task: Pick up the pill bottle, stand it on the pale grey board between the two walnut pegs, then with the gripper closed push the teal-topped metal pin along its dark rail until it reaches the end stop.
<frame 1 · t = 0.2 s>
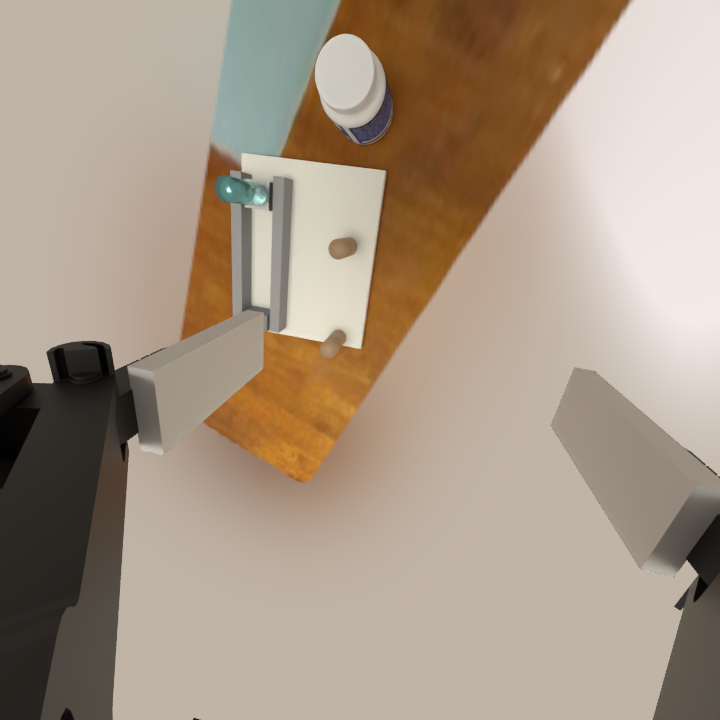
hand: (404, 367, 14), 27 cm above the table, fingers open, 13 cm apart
pin: (248, 193, 34), point 5 cm above the table, slide at 0.0 cm
pill bottle: (366, 114, 35), on the table
board: (308, 257, 41), on the table
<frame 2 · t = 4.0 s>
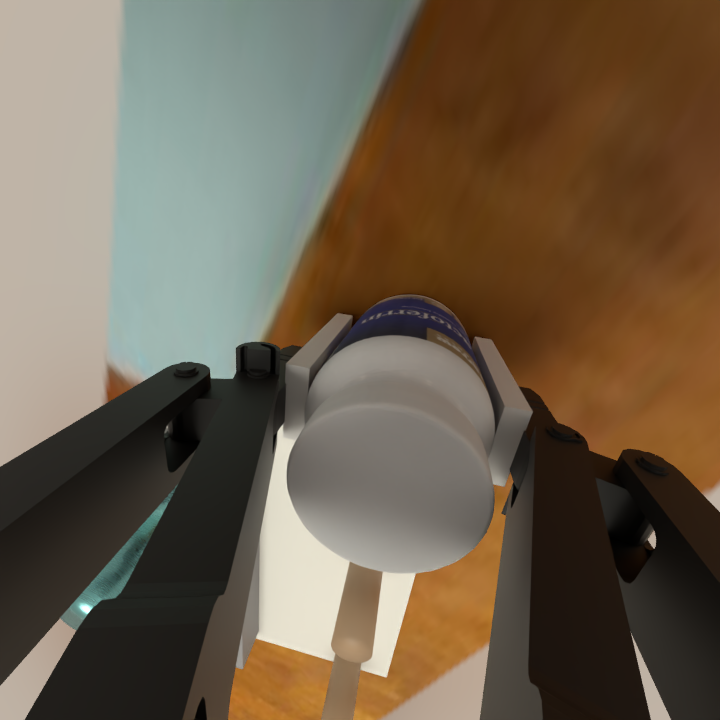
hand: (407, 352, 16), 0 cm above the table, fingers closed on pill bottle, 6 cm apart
pin: (162, 523, 16), point 5 cm above the table, slide at 0.0 cm
pill bottle: (407, 348, 17), on the table, touching gripper
board: (295, 540, 23), on the table
when the fingers open (3 cm above the table, at t = 9.6 s): pill bottle drops 2 cm, resting on board.
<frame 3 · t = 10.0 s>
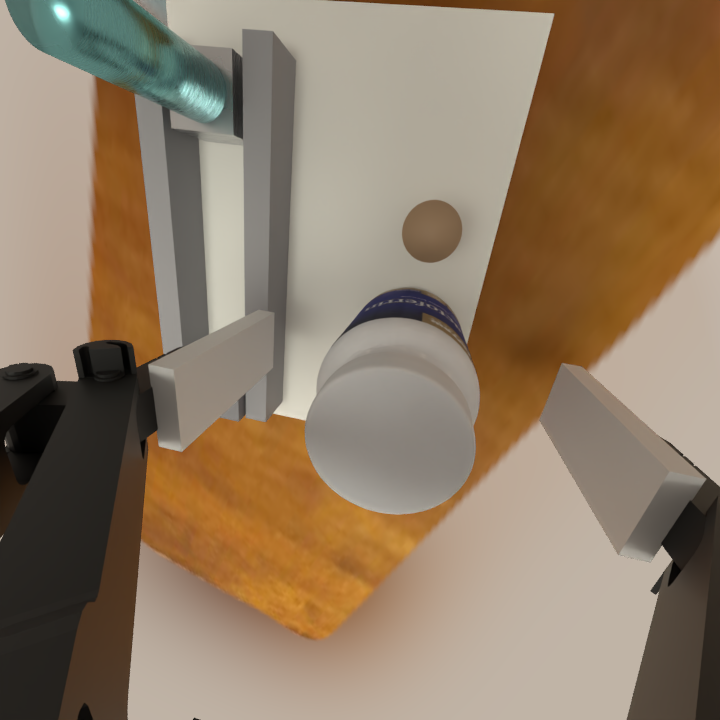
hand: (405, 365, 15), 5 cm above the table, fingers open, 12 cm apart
pin: (168, 71, 12), point 5 cm above the table, slide at 0.0 cm
pill bottle: (406, 337, 18), point 1 cm above the table, touching board
board: (331, 256, 18), on the table
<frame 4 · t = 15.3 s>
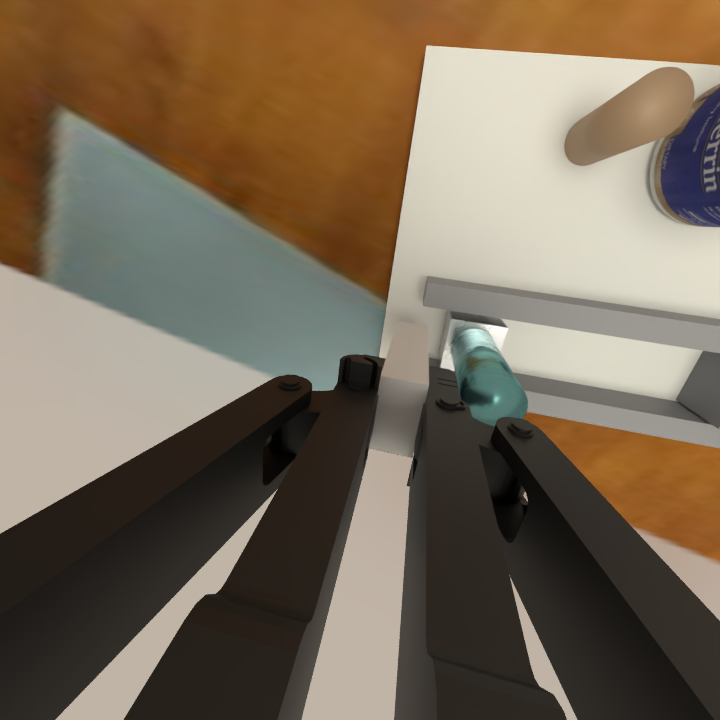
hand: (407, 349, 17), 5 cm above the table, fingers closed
pin: (477, 362, 16), point 5 cm above the table, slide at 0.9 cm, touching gripper
pill bottle: (714, 159, 15), point 1 cm above the table, touching board
board: (582, 257, 18), on the table
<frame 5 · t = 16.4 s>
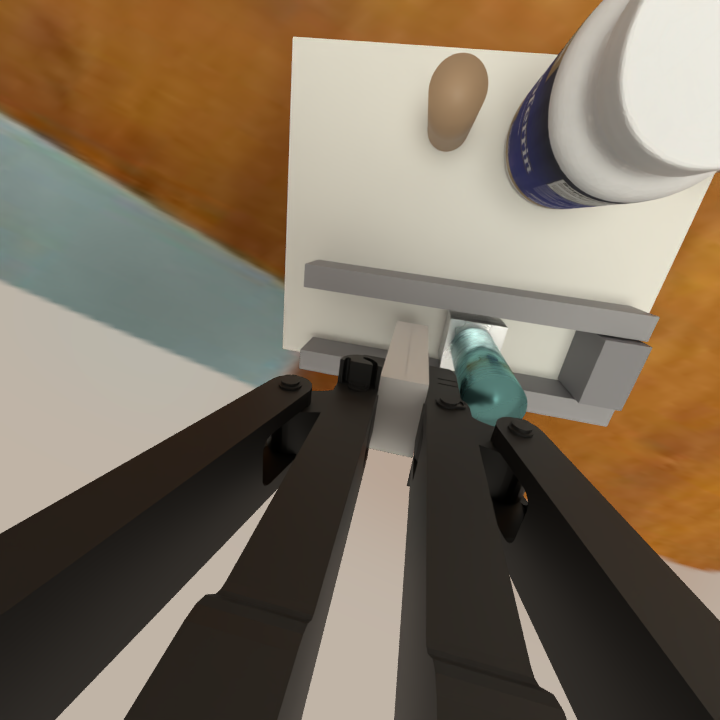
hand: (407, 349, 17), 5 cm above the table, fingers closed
pin: (477, 361, 16), point 5 cm above the table, slide at 7.3 cm, touching gripper
pill bottle: (565, 144, 16), point 1 cm above the table, touching board
board: (463, 241, 19), on the table
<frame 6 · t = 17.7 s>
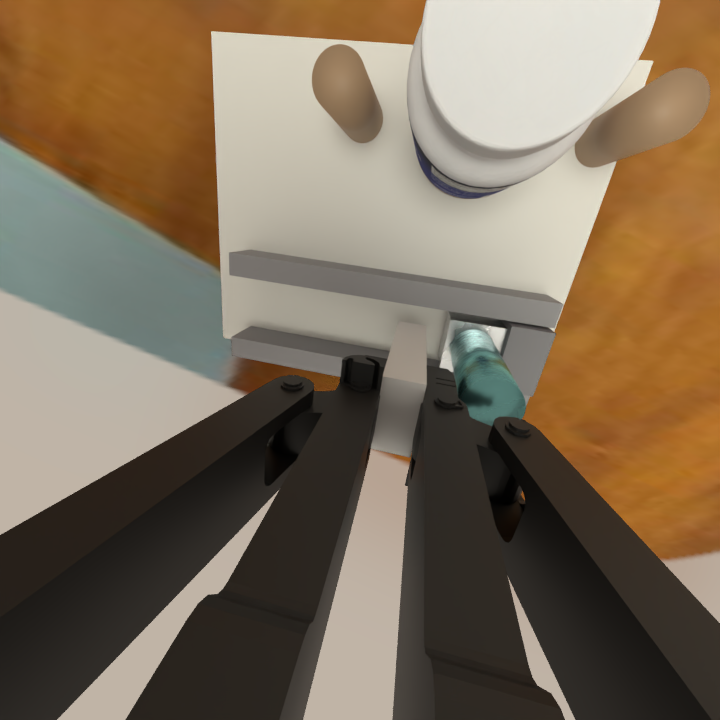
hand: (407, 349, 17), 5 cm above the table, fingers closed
pin: (476, 363, 16), point 5 cm above the table, slide at 11.5 cm, touching board, gripper
pill bottle: (474, 136, 16), point 1 cm above the table, touching board
board: (389, 231, 19), on the table
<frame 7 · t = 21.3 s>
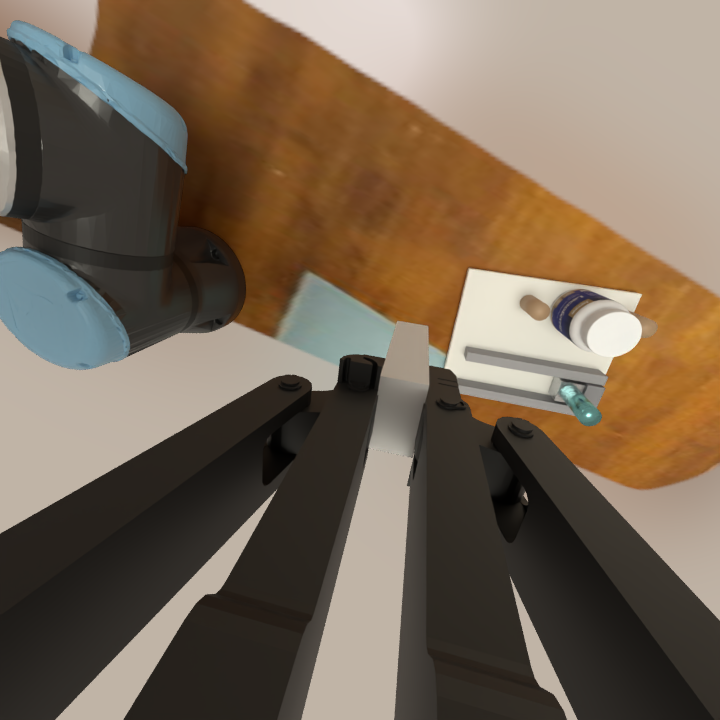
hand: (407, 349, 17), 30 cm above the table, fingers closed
pin: (575, 399, 41), point 5 cm above the table, slide at 11.5 cm, touching board
pill bottle: (573, 311, 42), point 1 cm above the table, touching board
board: (529, 339, 45), on the table
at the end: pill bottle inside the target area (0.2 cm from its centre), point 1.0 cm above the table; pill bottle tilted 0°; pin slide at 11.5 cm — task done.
